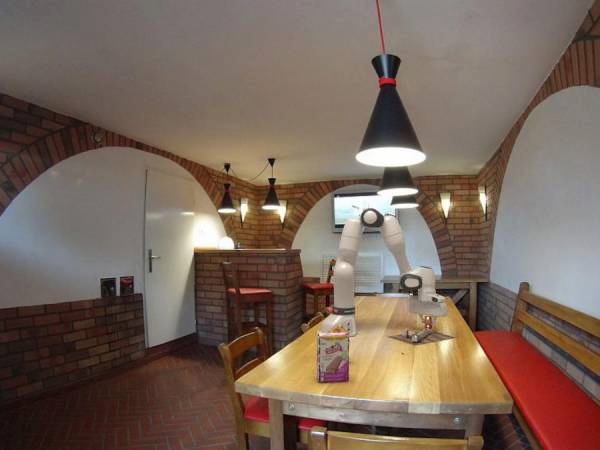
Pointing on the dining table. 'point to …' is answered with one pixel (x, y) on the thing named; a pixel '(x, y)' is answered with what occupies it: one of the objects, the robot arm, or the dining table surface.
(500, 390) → the dining table surface
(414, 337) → the lever
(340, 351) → the candy bar box
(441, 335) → the nutcracker base
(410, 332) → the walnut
